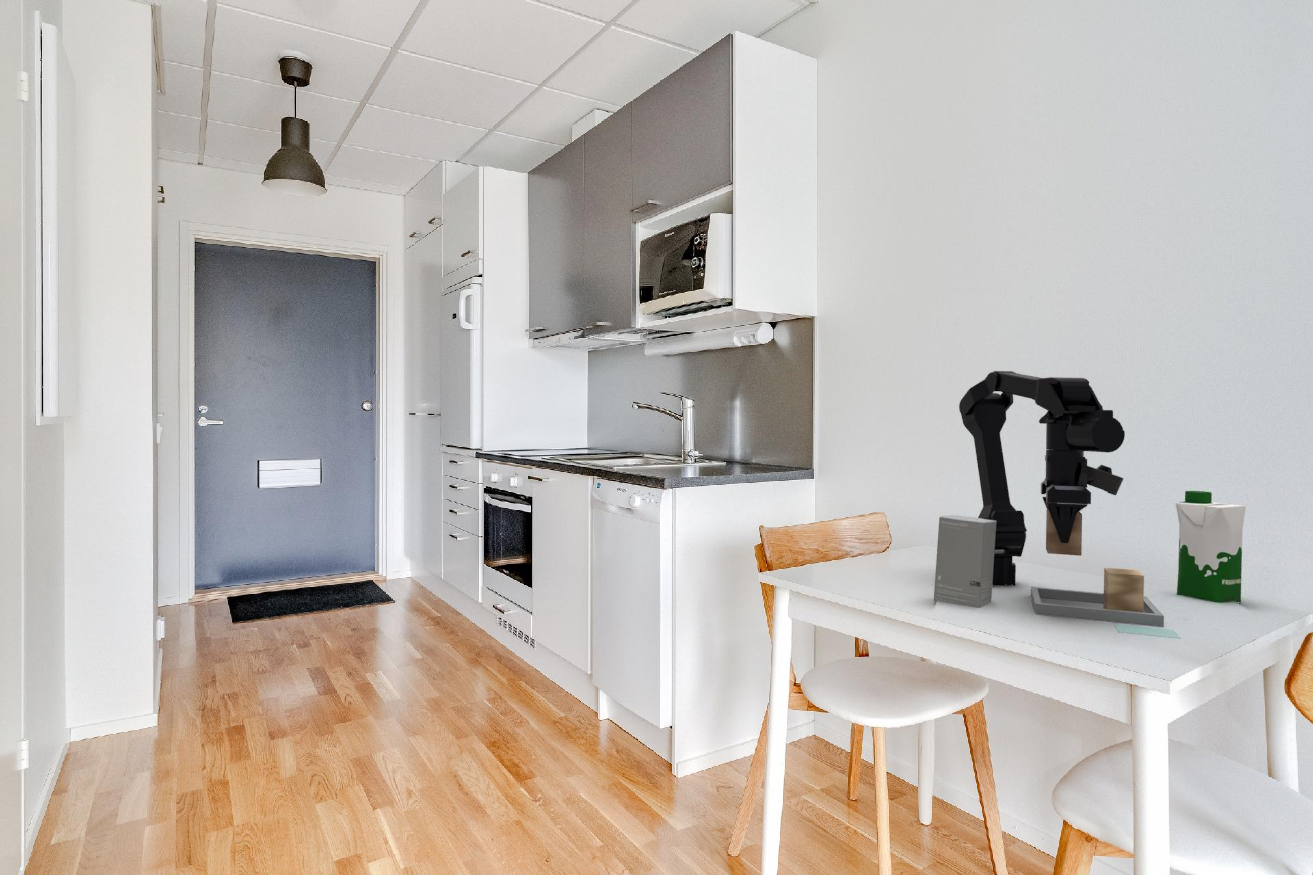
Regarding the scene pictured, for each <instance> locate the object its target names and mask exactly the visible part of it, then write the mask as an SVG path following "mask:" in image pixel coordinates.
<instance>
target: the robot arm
mask: <svg viewBox="0 0 1313 875" xmlns="http://www.w3.org/2000/svg"><path fill="white" fill-rule="evenodd" d="M998 392H1001V393H998ZM1014 396H1019V397H1022V398H1027V399H1032V400H1033V401H1034V403H1035V405H1036V406H1038V407H1041V408H1042V409H1045V410H1046V413H1045V414H1044V415H1043V416H1042V417H1040V418H1039V420H1038V424H1045V425H1046V427H1045V428H1046V429H1045V430H1046V433H1045V435H1046V436H1045V455H1044V461H1045V478H1044V480H1043V481H1042V482H1041V483H1040V494H1041V495H1045V496H1042V500H1043V503H1044V506H1045V509H1046V510H1049V512H1050V515H1051V518H1052V520H1053V523H1054V525H1055V528H1056V531H1057V533H1058V536H1059V538H1060V541H1061V542H1062V543H1068V542H1069V539H1070V535H1071V532H1072V528H1073V524H1074V521H1075V517H1076V514H1077V513H1078V512H1081V511H1083V509H1085V508H1087V507H1088V505H1091V504H1092V492H1091V491H1090V490H1089V489H1088V486H1091V487H1093V488H1096V489H1100V490H1102V491H1104V492H1106V493H1108V494H1110V495H1112V496H1117V495H1118V492H1119V490H1120V488H1121V485H1122V483H1123V481H1124V477H1122V476H1119V475H1117V474H1113V470H1112V467H1109V466H1106V465H1104V464H1100V465H1099V466H1097V467H1096V468H1095V467H1093V466H1090V465H1088V459H1087V458H1086V456H1085V453H1084V452H1092V453H1094V452H1095V453H1112V452H1116V451H1118V449H1119V448H1121V446H1122V444H1123V443H1124V440H1125V436H1126V434H1125V432H1126V431H1125V430H1124V428H1123V426H1122V425H1123V424H1122V423H1121V422H1120V421H1119V420H1118V419H1117V418H1115V417H1114V411H1113V409H1104V408H1103V405H1102V404H1101V402H1100V401H1099V399H1098V397H1097V395H1096V394H1095V391H1094V390H1093V388H1092V387H1091V385H1090V381H1089V379H1086V378H1085V377H1056V376H1055V377H1051V376H1050V377H1049V376H1048V377H1039V376H1033V375H1028V374H1023V373H1022V374H1021V373H1017V372H1015V371H1013V370H993V371H991V372H989V373H988V374H987V375H986V377H985V378H984V379H983V380H981V381H979V382H978V383H977V384H975V385H973V386H972V387H970V388H969V389H968V390H967V391H966V392H965V394H964V395H963V396H962V398H961V400H960V401H959V405H958V408H959V413H960V416H961V419H962V424H963V426H964V427H965V429H967V431H968V432H969V433H970V435H971V436H972V437H973V441H974V442H973V443H974V449H975V455H976V464H977V469H978V470H977V471H978V477H979V484H980V492H981V499H982V505H983V506H982V508H981V510H980V512H979V515H978V517H977V518H981V519H988V520H995V521H997V522H996V535H995V551H994V566H993V582H992V586H1001V587H1002V586H1003V587H1004V586H1010V587H1011V586H1016V577H1017V576H1016V574H1017V573H1016V572H1017V571H1016V569H1017V565H1016V563H1015V562H1013V557H1017V558H1018V557H1019V558H1020V557H1022V555H1023V551H1024V548H1025V544H1026V540H1027V531H1028V530H1027V527H1026V524H1025V514H1024V512H1023V511H1022V510H1017V509H1016V508H1015V507H1014V506H1013V505H1012V504H1011V499H1010V491H1009V485H1008V479H1007V478H1008V477H1007V472H1006V465H1005V458H1004V451H1003V446H1002V440H1001V431H1002V429H1003V427H1004V426H1005V423H1006V421H1007V411H1008V410H1009V409H1010V408H1011V407H1012V405H1013V403H1014Z"/></svg>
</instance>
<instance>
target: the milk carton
mask: <svg viewBox="0 0 1313 875" xmlns="http://www.w3.org/2000/svg"><path fill="white" fill-rule="evenodd" d="M1212 496H1213V493H1212V492H1211V491H1205V490H1204V491H1202V490H1185V491H1184V501H1179V502H1175V508H1176V509H1175V510H1176V513H1177V518H1178V566H1177V568H1178V570H1177V573H1178V574H1177V583H1176V584H1177V586H1176V596H1182V597H1187V598H1194V599H1197V600H1202V601H1208V602H1212V603H1218V604H1219V603H1227V602H1232V601H1235V603H1237V604H1239V603H1238V602H1241V603H1242V567H1243V565H1242V564H1243V563H1242V561H1243V559H1242V558H1243V556H1242V555H1243V527H1244V522H1245V514H1246V507H1247V506H1246V505H1243V504H1241V505H1240V504H1232V503H1228V502H1217V501H1216V502H1214V501H1212V498H1213V497H1212Z"/></svg>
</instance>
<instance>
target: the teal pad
mask: <svg viewBox="0 0 1313 875" xmlns="http://www.w3.org/2000/svg"><path fill="white" fill-rule="evenodd" d="M1112 625H1113V627H1114V628H1115V630H1116V631H1117V633H1121V634H1122V633H1123V634H1124V633H1125V634H1131V635H1133V634H1134V635H1143V636H1150V637H1151V636H1152V637H1162V638H1170V639H1179V640H1181V639H1182V638H1181V636H1180V635H1179V634H1178V633H1177V632H1176V631H1175V630H1174V629H1168V628H1161V627H1160V628H1159V627H1150V626H1149V627H1148V626H1141V625H1140V626H1138V625H1131V624H1130V625H1128V624H1121V623H1120V624H1118V623H1113V624H1112Z"/></svg>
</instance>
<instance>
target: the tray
mask: <svg viewBox="0 0 1313 875" xmlns="http://www.w3.org/2000/svg"><path fill="white" fill-rule="evenodd" d="M1030 598H1031V600H1030V601H1031V603H1032V607H1033V608H1032V609H1033V612H1034V614H1035V615H1040V616H1049V617H1051V616H1052V617H1061V618H1070V619H1071V618H1072V619H1079V620H1080V619H1082V620H1091V621H1101V622H1112V623H1120V624H1130V625H1140V626H1149V627H1150V626H1151V627H1158V628H1159V627H1160V628H1161V627H1163V628H1164V627H1165V616H1164V614H1163V613H1162V612H1161V611H1160V610H1159V608H1157V607H1156V606H1155V604H1154V603H1153V602H1152V601H1151V600H1150V599H1149V598H1148V597H1147V596H1144V603H1143V612H1132V611H1121V610H1111V609H1104V608H1103V604H1104V592H1094V591H1086V590H1085V591H1083V590H1071V589H1063V588H1062V589H1061V588H1052V587H1051V588H1049V587H1037V586H1031V587H1030Z"/></svg>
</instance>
